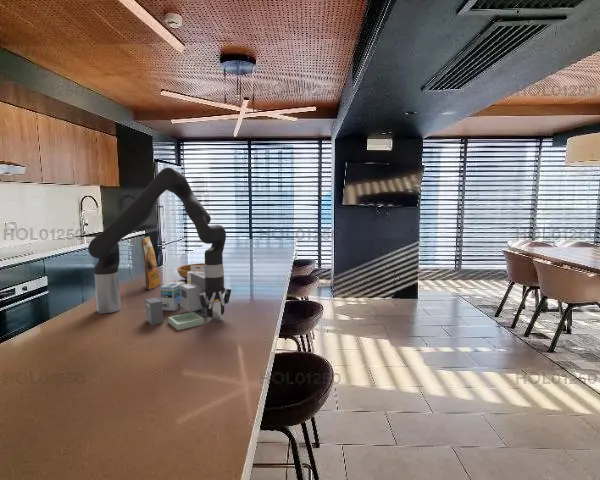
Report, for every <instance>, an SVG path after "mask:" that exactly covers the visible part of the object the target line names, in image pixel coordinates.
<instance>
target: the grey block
mask: <svg viewBox="0 0 600 480" xmlns="http://www.w3.org/2000/svg"><path fill="white" fill-rule="evenodd" d="M144 303H145V319H146V322H147V323H148V324H149V325H151V326H156V325H160V324H164V310H163V306H162V301H161V299H159V297H151V298H150V297H149V298H146V299H144Z"/></svg>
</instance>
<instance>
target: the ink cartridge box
mask: <svg viewBox="0 0 600 480" xmlns="http://www.w3.org/2000/svg"><path fill="white" fill-rule="evenodd" d="M190 267H191V271H189V272H187V279H186V280H187V281H186V282H187V283H186V284H190V283H191V273H193V272H195V273H198V274H200V275H203V276H205V265H191V266H190ZM195 267H200V269H198V268H195Z"/></svg>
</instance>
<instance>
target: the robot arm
mask: <svg viewBox="0 0 600 480" xmlns="http://www.w3.org/2000/svg"><path fill="white" fill-rule="evenodd" d="M166 191H167V192H170V193H173V194H174V195H175V196H176V197H178V199H179V200H180V201H181V202H182V204H183V207H184V211H185V213H186V215H187V216H188V218H189V219H190V220H191V222H192V223H193V224H194V226H195V230H196V233H197V235H198V238H199V240H200V241H201V242H202V243H204V244H206V245H207V244H208V245H209V244H211V246H210V247H209V248H208V249H206V250H205V251H204V263H205V291H204V293H202V294H198V297H199V299H200V302H201V305H202V307H204V308H207V315H208V316H207V317H208V318H210V319H211V317H212V308H211V307H212V303H213V301H214V300H216V299H219V300H220V301H221V316H223V315H224V313H225V305H226V304H229V303H230V297H231V293H232V289H230V288H228V287H226V288H225V271H224V270H225V269H224V260H223V258H224V257H223V254H224V253H223V252H224V248H225V244H226V241H227V240H226V239H227V232H226V230H225V228H224V226H222V225H221V224H213V225H209V224H210V223H211V220H212V218H211V215H210V214H209V213H208V212H207V210H206V209H205V207H204V206H203V205H202V203H201V202H200V201H199V200H198V198H197V196H196V195H195V194H194V192H193V190H192V188H191V187H190V184H189V182H188V180H187V178H186V176H185V175H184V174H183V173H181V172H180V171H178V170H176V169H174V168H173V167H164V168H163V169H161V170H160V171H159V172H158V173H157V175H155V176H154V178H153V179H152V180H151V182H150V183H149V184H148V185H147V187H146V188H145V189H143V191H142V192H140V194H139V195H138V196H137V197H136V198H135V199H134V200H133V201H131V202H130V204H128V206H126V208H125V209H124V210H123V211H122V212H121V213H120V214H119V215H118V216H117V217H116V218H115V219H114V220H113V221H112V222H111V223H110V224H109V226H107V228H105V229H104V230H103V231H102V232H100V233H99V234H98V235H96V236H95V237H94V238H93V239H91V240H90V242H89V243H88V248H87V249H88V251H87V252H88V253H89V255H90V256H91V257H93V258H94V259H98V261H97V262H96V264H95V266H94V268H93V271H94V283H95V285H94V286H95V290H94V295H95V297H94V298H95V308H96V312H97V313H98V314H99V315H100V314H110V313H115V312H118V311H121V309H122V305H121V293H120V291H121V290H120V278H119V266H120V245H119V242H120V241H121V240H122V239H124V238H125V237H127V236H128V235H130V234H131V233H133V232H135V231H136V230H137V229H140V227H142V225H144V223H145V222H146V221H148V219H150V218H151V216H152V215H153V211H154V209H155V205H156V202H157V200H158V198H160V196H161V195H163V193H165V192H166ZM205 295H207V297H208V298H207V304H206V302H205V299H204V298H205ZM223 295H224V296H223Z"/></svg>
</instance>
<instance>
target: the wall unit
mask: <svg viewBox="0 0 600 480" xmlns="http://www.w3.org/2000/svg"><path fill="white" fill-rule="evenodd" d="M180 286H181V305H182V307H181V308H182V309H184V310H185V311H187V313H189V312H195V313H196V314H198V315H199V316H201V317H203V318H204V317H209V316H208V315H207V308H204V307H202V305H201V302H200V299H199V297H198V294H202V293H204V291H205V276H203V275H200V274H198V273H195V272H193V273H191V283H190V284H187V283H185V284H184V285H180ZM207 298H208V297H207V295H205V298H204V299H205V302H206V304H207Z"/></svg>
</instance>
